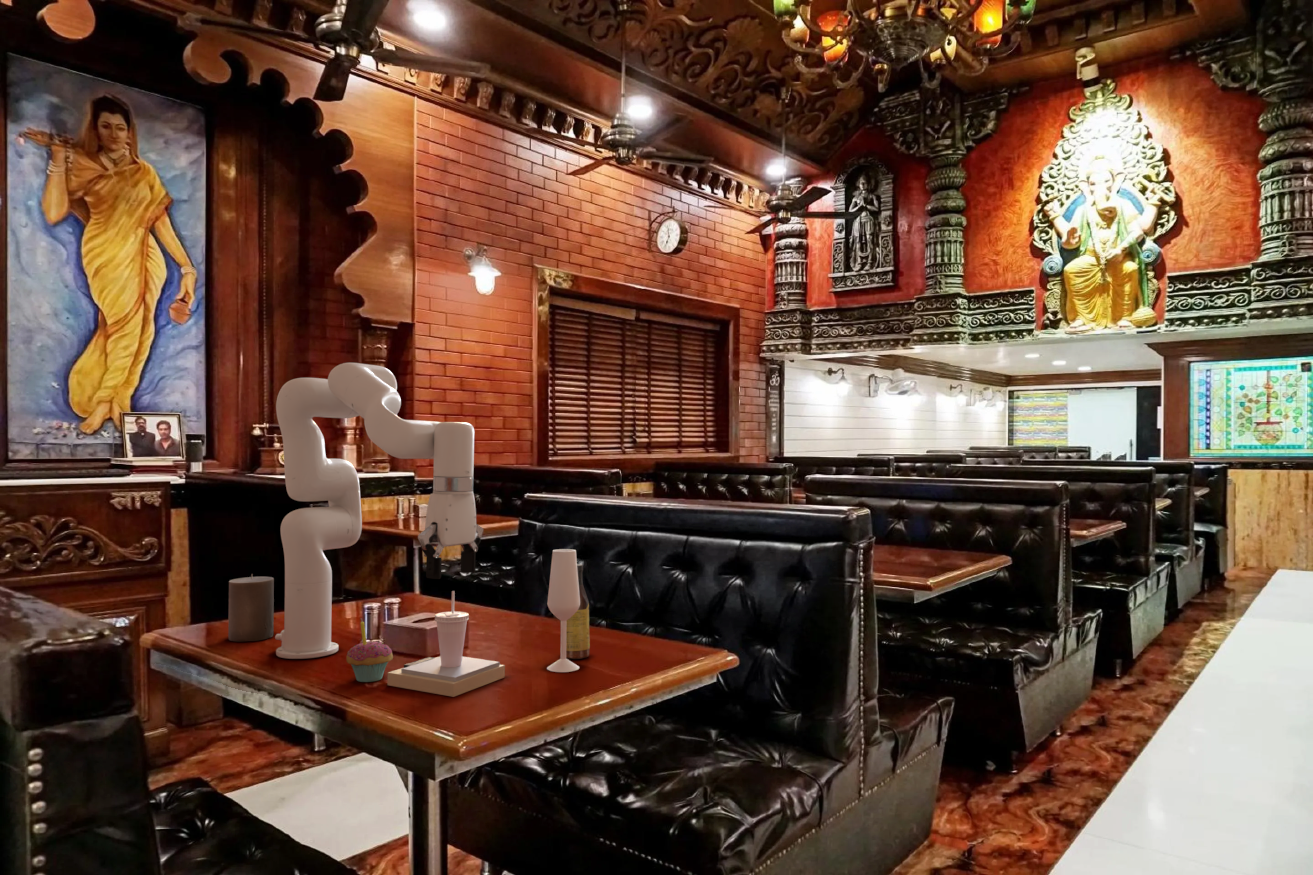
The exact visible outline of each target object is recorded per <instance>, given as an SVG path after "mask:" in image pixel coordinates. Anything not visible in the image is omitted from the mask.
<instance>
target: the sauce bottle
mask: <svg viewBox="0 0 1313 875" xmlns="http://www.w3.org/2000/svg"><path fill="white" fill-rule="evenodd" d="M577 571H578V583H579V595H580V606H579V608H578V610H577V611H576V613H575V614H574V615H573V616H572V617H571V618H569V619H568V620H567V623H566V659H568V660H581V659H586V658H588V657H589V656H590V648H591V638H590V637H591V636H590V634H591V633H590V600H589V598H588V595H587V593H586V589H585V586H584V583H583V582H584V581H583V572H584V565H583V564H582V563H577ZM559 621H560V622H559V623H560V624H561V620H559Z"/></svg>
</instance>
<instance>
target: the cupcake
mask: <svg viewBox="0 0 1313 875" xmlns="http://www.w3.org/2000/svg"><path fill="white" fill-rule="evenodd" d="M365 627H366V626H365V622H364V621H363V618H361V617H360V631H361V639H362V642H360V643H358V644H355V645H353V646H352V647H351V648H349V650H348V651H347V653H346V663H347V664H348V665H351V668H352V670H353V673H354V676H355V679H356V681H357V682H360V683H372V682H377V681H380V680H382V679H383V676H384V674H385V670H386V668H387V665H388V663H389V662H391V661H393V660H394V659H393V658H394V656H393V650H392V648H391V647H390V646H389V645H388V644H386V643H384V642H381V641H379V640H378V641H377V640H376V641H374V640H372V641H371V640H370V641H367V636H366V628H365Z"/></svg>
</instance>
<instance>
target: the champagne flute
mask: <svg viewBox="0 0 1313 875" xmlns="http://www.w3.org/2000/svg"><path fill="white" fill-rule="evenodd" d="M550 563H551V564H550V574H549V585H548V592H547V593H548V594H547V603H546V604H547V607H548V610H549V611H550V613H551V614H553V616H554V617H555V618H556V619H557V620H559V621H560V620H561V623H560V656H559V659H557V660H556V661H555V662H552V663H551V664H550V665H548V666H547V667H546V670H547V671H550V672H555V673H569V672H575V671H578V670H579V669H580V666H579V665H577V664H576V663H575V662H573V661H571V660H570V659H566V623H567V620H568V619H569V618H571V617H572V616H573V615H574V614H575V613H576V611H577V610H578V608H579V606H580V595H579V583H578V571H577V564H578V560H577V550H576V549H573V548H572V549H570V548H559V549H553V550H552V554H551V562H550Z"/></svg>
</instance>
